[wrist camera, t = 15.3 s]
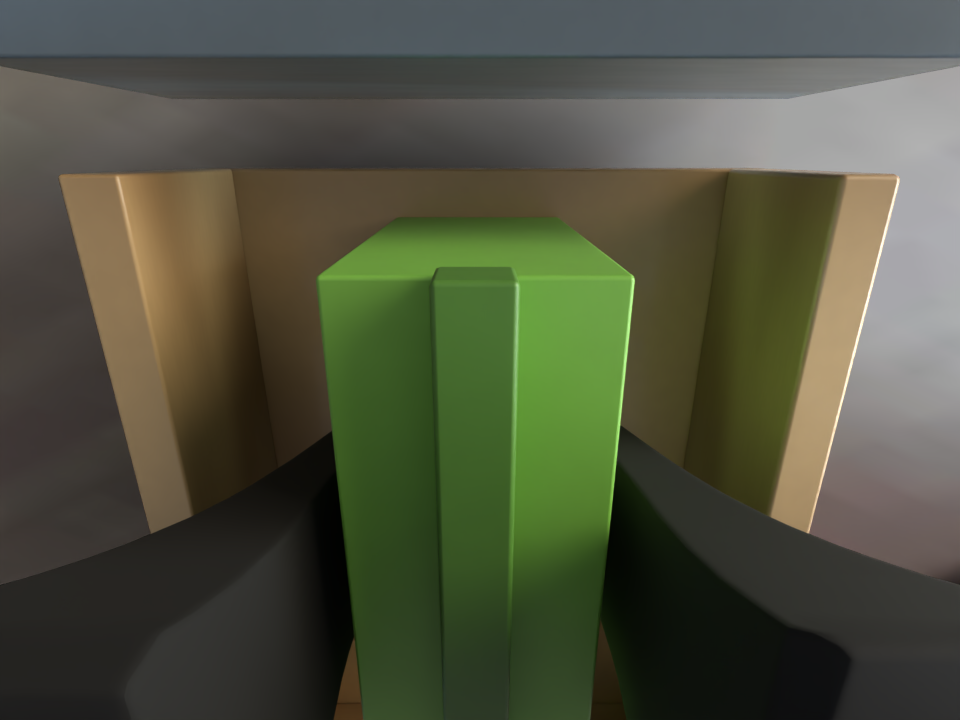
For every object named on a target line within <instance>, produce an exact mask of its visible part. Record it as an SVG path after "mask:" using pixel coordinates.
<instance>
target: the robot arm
mask: <svg viewBox="0 0 960 720" xmlns="http://www.w3.org/2000/svg"><path fill="white" fill-rule="evenodd" d="M600 620H601V623H602V626H603V629H604V632H605V635H606V639H607V642H608V645H609V648H610V651H611V655H612V659H613V662H614V666H615V670H616V674H617V677H618V682H619V686H620V691H621V696H622V701H623V706H624V711H625V715H626V720H960V585H959V584H955V583H952V582H948V581H944V580H940V579H937V578H933V577H930V576H927V575H923V574H920V573H917V572H914V571H911V570H908V569H905V568H902V567H899V566H896V565H893V564H890V563H887V562H883V561H880V560H877V559H874V558H871V557H868V556H866V555H863V554H860V553H857V552H855V551H852V550H849V549H846V548H844V547H841V546H838V545H835V544H833V543H830V542H828V541H826V540H823V539H821V538H818V537H816V536H813V535H811V534H808V533H806V532H804V531H801V530H799V529H796V528H794V527H791V526H789V525H787V524H785V523H782V522H780V521H778V520H776V519H774V518H771V517H769V516H767V515H765V514H763V513H761V512H759V511H757V510H755V509H753V508H751V507H749V506H747V505H745V504H743V503H741V502H739V501H737V500H735V499H733V498H731V497H730V496H728V495H726V494H724V493H722V492H721V491H719V490H717V489H715V488H714V487H712V486H710V485H709V484H707V483H705V482H704V481H702V480H700V479H699V478H697V477H695V476H694V475H692V474H690V473H689V472H687V471H686V470H684V469H683V468H681V467H680V466H678V465H677V464H675V463H674V462H672V461H671V460H669V459H668V458H666V457H665V456H663V455H662V454H660V453H659V452H658V451H656V450H655V449H653V448H652V447H650V446H649V445H648V444H646V443H645V442H643V441H642V440H641V439H639V438H638V437H637V436H635V435H634V434H632V433H631V432H630V431H628V430H627V429H625V428H624V427H623V426H621V425H620V431H619V441H618V451H617V461H616V471H615V480H614V490H613V500H612V510H611V520H610V530H609V539H608V549H607V559H606V569H605V579H604V588H603V598H602V608H601V618H600ZM353 639H354V630H353V621H352V612H351V602H350V593H349V584H348V575H347V565H346V556H345V547H344V538H343V528H342V519H341V510H340V500H339V491H338V482H337V473H336V463H335V454H334V445H333V436H332V431H331V432H329V433H328V434H327V435H325V436H324V437H322V438H321V439H320V440H318V441H317V442H315V443H314V444H313V445H311V446H310V447H308V448H307V449H306V450H304V451H303V452H301V453H300V454H298V455H297V456H296V457H294V458H293V459H291V460H290V461H288V462H287V463H285V464H284V465H282V466H280V467H279V468H277V469H276V470H274V471H272V472H271V473H269V474H268V475H266V476H265V477H263V478H261V479H260V480H258V481H257V482H255V483H254V484H252V485H250V486H249V487H247V488H245V489H243V490H242V491H240V492H238V493H236V494H234V495H233V496H231V497H229V498H227V499H225V500H223V501H221V502H219V503H217V504H215V505H213V506H212V507H210V508H208V509H206V510H204V511H202V512H200V513H198V514H195V515H193V516H191V517H189V518H187V519H185V520H182V521H180V522H178V523H175V524H173V525H170V526H168V527H166V528H163V529H161V530H159V531H156V532H154V533H152V534H149V535H147V536H145V537H142V538H140V539H138V540H135V541H133V542H130V543H128V544H125V545H123V546H120V547H117V548H114V549H112V550H109V551H106V552H103V553H101V554H98V555H95V556H92V557H90V558H87V559H83V560H80V561H77V562H74V563H71V564H68V565H65V566H62V567H59V568H56V569H53V570H50V571H47V572H44V573H41V574H37V575H34V576H31V577H28V578H24V579H20V580H17V581H13V582H10V583H6V584H2V585H0V720H334V715H335V711H336V706H337V701H338V696H339V691H340V686H341V682H342V677H343V674H344V670H345V666H346V662H347V659H348V655H349V651H350V648H351V645H352V642H353Z"/></svg>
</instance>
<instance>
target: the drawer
mask: <svg viewBox="0 0 960 720" xmlns="http://www.w3.org/2000/svg"><path fill="white" fill-rule="evenodd" d="M0 66H3V67H8V68H13V69H18V70H24V71H29V72H34V73H39V74H45V75H50V76H55V77H61V78H66V79H71V80H76V81H82V82H87V83H92V84H97V85H103V86H108V87H113V88H119V89H124V90H129V91H134V92H140V93H145V94H150V95H155V96H161V97H166V98H171V99H789V98H794V97H799V96H805V95H810V94H815V93H820V92H826V91H831V90H836V89H842V88H847V87H852V86H857V85H863V84H868V83H873V82H878V81H884V80H889V79H894V78H900V77H905V76H910V75H915V74H921V73H926V72H931V71H936V70H942V69H947V68H952V67H958V66H960V0H0ZM58 179H59V183H60V187H61V190H62V194H63V198H64V202H65V206H66V210H67V214H68V217H69V221H70V225H71V229H72V233H73V237H74V241H75V244H76V248H77V252H78V256H79V260H80V264H81V267H82V271H83V275H84V279H85V283H86V287H87V291H88V294H89V298H90V302H91V306H92V310H93V314H94V318H95V321H96V325H97V329H98V333H99V337H100V341H101V345H102V348H103V352H104V356H105V360H106V364H107V368H108V371H109V375H110V379H111V383H112V387H113V391H114V395H115V398H116V402H117V406H118V410H119V414H120V418H121V422H122V425H123V429H124V433H125V437H126V441H127V445H128V449H129V452H130V456H131V460H132V464H133V468H134V472H135V475H136V479H137V483H138V487H139V491H140V495H141V499H142V502H143V506H144V510H145V514H146V518H147V522H148V526H149V529H150V533H151V534H152V533H154V532H156V531H159V530H161V529H163V528H166V527H168V526H170V525H173V524H175V523H178V522H180V521H182V520H185V519H187V518H189V517H191V516H193V515H195V514H198V513H200V512H202V511H204V510H206V509H208V508H210V507H212V506H213V505H215V504H217V503H219V502H221V501H223V500H225V499H227V498H229V497H231V496H233V495H234V494H236V493H238V492H240V491H242V490H243V489H245V488H247V487H249V486H250V485H252V484H254V483H255V482H257V481H258V480H260V479H261V478H263V477H265V476H266V475H268V474H269V473H271V472H272V471H274V470H276V469H277V468H279V467H280V466H282V465H284V464H285V463H287V462H288V461H290V460H291V459H293V458H294V457H296V456H297V455H298V454H300V453H301V452H303V451H304V450H306V449H307V448H308V447H310V446H311V445H313V444H314V443H315V442H317V441H318V440H320V439H321V438H322V437H324V436H325V435H327V434H328V433H329V432H331V431H332V426H331V417H330V408H329V399H328V389H327V380H326V371H325V361H324V352H323V343H322V334H321V324H320V315H319V306H318V297H317V287H316V278H317V276H318V275H319V274H321V273H322V272H323V271H325V270H326V269H327V268H329V267H330V266H332V265H333V264H334V263H336V262H337V261H338V260H340V259H341V258H343V257H344V256H345V255H347V254H348V253H349V252H351V251H352V250H353V249H355V248H356V247H358V246H359V245H360V244H362V243H363V242H364V241H366V240H367V239H369V238H370V237H371V236H373V235H374V234H375V233H377V232H378V231H379V230H381V229H382V228H384V227H385V226H386V225H388V224H389V223H390V222H392V221H393V220H395V219H396V218H398V217H557V218H559V219H561V220H562V221H563V222H564V223H566V224H567V225H568V226H570V227H571V228H572V229H573V230H575V231H576V232H577V233H579V234H580V235H581V236H582V237H584V238H585V239H586V240H588V241H589V242H590V243H591V244H593V245H594V246H595V247H597V248H598V249H599V250H600V251H602V252H603V253H604V254H606V255H607V256H608V257H610V258H611V259H612V260H613V261H615V262H616V263H617V264H619V265H620V266H621V267H622V268H624V269H625V270H626V271H628V272H629V273H630V274H631V275H633V276H634V279H635V284H634V294H633V303H632V313H631V323H630V333H629V343H628V353H627V362H626V372H625V382H624V392H623V402H622V412H621V421H620V425H621V426H623V427H624V428H625V429H627V430H628V431H630V432H631V433H632V434H634V435H635V436H637V437H638V438H639V439H641V440H642V441H643V442H645V443H646V444H648V445H649V446H650V447H652V448H653V449H655V450H656V451H658V452H659V453H660V454H662V455H663V456H665V457H666V458H668V459H669V460H671V461H672V462H674V463H675V464H677V465H678V466H680V467H681V468H683V469H684V470H686V471H687V472H689V473H690V474H692V475H694V476H695V477H697V478H699V479H700V480H702V481H704V482H705V483H707V484H709V485H710V486H712V487H714V488H715V489H717V490H719V491H721V492H722V493H724V494H726V495H728V496H730V497H731V498H733V499H735V500H737V501H739V502H741V503H743V504H745V505H747V506H749V507H751V508H753V509H755V510H757V511H759V512H761V513H763V514H765V515H767V516H769V517H771V518H774V519H776V520H778V521H780V522H782V523H785V524H787V525H789V526H791V527H794V528H796V529H799V530H801V531H804V532H806V533H808V534H809V530H810V526H811V522H812V518H813V514H814V510H815V507H816V503H817V499H818V495H819V491H820V487H821V483H822V480H823V476H824V472H825V468H826V464H827V460H828V456H829V453H830V449H831V445H832V441H833V437H834V433H835V429H836V425H837V422H838V418H839V414H840V410H841V406H842V402H843V398H844V395H845V391H846V387H847V383H848V379H849V375H850V371H851V368H852V364H853V360H854V356H855V352H856V348H857V344H858V341H859V337H860V333H861V329H862V325H863V321H864V317H865V313H866V310H867V306H868V302H869V298H870V294H871V290H872V286H873V283H874V279H875V275H876V271H877V267H878V263H879V259H880V256H881V252H882V248H883V244H884V240H885V236H886V232H887V228H888V225H889V221H890V217H891V213H892V209H893V205H894V201H895V198H896V194H897V190H898V186H899V182H900V179H899V177H898V176H897V175H895V174H880V173H856V172H831V171H807V170H783V169H760V168H200V169H176V170H151V171H127V172H102V173H78V174H62V175H60V176H59V178H58ZM334 720H363V714H362V704H361V695H360V686H359V677H358V667H357V658H356V649H355V640H354V639H353V642H352V645H351V648H350V651H349V655H348V659H347V662H346V666H345V670H344V674H343V677H342V682H341V686H340V691H339V696H338V701H337V706H336V711H335V715H334ZM590 720H626V715H625V711H624V706H623V701H622V696H621V691H620V686H619V682H618V677H617V674H616V670H615V666H614V662H613V659H612V655H611V651H610V648H609V645H608V642H607V639H606V635H605V632H604V629H603V626H602V623H601V620H600V628H599V638H598V647H597V657H596V667H595V677H594V687H593V697H592V706H591V716H590Z"/></svg>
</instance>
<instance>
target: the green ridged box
mask: <svg viewBox="0 0 960 720" xmlns="http://www.w3.org/2000/svg"><path fill="white" fill-rule="evenodd" d="M634 284H635V279H634V276H633V275H631V274H630V273H629V272H628V271H626V270H625V269H624V268H622V267H621V266H620V265H619V264H617V263H616V262H615V261H613V260H612V259H611V258H610V257H608V256H607V255H606V254H604V253H603V252H602V251H600V250H599V249H598V248H597V247H595V246H594V245H593V244H591V243H590V242H589V241H588V240H586V239H585V238H584V237H582V236H581V235H580V234H579V233H577V232H576V231H575V230H573V229H572V228H571V227H570V226H568V225H567V224H566V223H564V222H563V221H562V220H561V219H559V218H557V217H398V218H396V219H395V220H393V221H392V222H390V223H389V224H388V225H386V226H385V227H384V228H382V229H381V230H379V231H378V232H377V233H375V234H374V235H373V236H371V237H370V238H369V239H367V240H366V241H364V242H363V243H362V244H360V245H359V246H358V247H356V248H355V249H353V250H352V251H351V252H349V253H348V254H347V255H345V256H344V257H343V258H341V259H340V260H338V261H337V262H336V263H334V264H333V265H332V266H330V267H329V268H327V269H326V270H325V271H323V272H322V273H321V274H319V275H318V276H317V278H316V287H317V297H318V306H319V315H320V324H321V334H322V343H323V352H324V361H325V371H326V380H327V389H328V399H329V408H330V417H331V426H332V436H333V445H334V454H335V463H336V473H337V482H338V491H339V500H340V510H341V519H342V528H343V538H344V547H345V556H346V565H347V575H348V584H349V593H350V602H351V612H352V621H353V630H354V640H355V649H356V658H357V667H358V677H359V686H360V695H361V704H362V714H363V720H590V716H591V706H592V697H593V687H594V677H595V667H596V657H597V647H598V638H599V628H600V618H601V608H602V598H603V588H604V579H605V569H606V559H607V549H608V539H609V530H610V520H611V510H612V500H613V490H614V480H615V471H616V461H617V451H618V441H619V431H620V421H621V412H622V402H623V392H624V382H625V372H626V362H627V353H628V343H629V333H630V323H631V313H632V303H633V294H634Z"/></svg>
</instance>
